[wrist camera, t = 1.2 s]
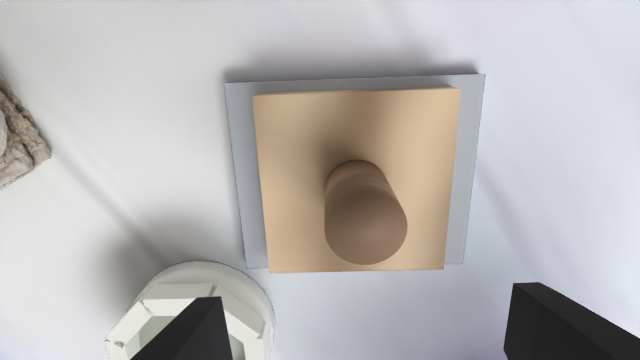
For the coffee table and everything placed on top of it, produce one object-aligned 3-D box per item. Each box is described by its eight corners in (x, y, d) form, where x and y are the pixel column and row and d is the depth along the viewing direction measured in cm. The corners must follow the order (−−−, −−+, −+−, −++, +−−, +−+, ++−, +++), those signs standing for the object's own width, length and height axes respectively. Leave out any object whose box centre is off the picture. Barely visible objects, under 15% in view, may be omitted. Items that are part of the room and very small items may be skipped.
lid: (451, 86, 16) (510, 97, 11) (436, 256, 18) (476, 326, 14) (257, 93, 16) (226, 107, 11) (272, 260, 19) (254, 330, 14)
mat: (479, 73, 16) (485, 74, 15) (458, 257, 19) (462, 263, 19) (227, 82, 16) (223, 83, 16) (249, 262, 19) (246, 268, 19)
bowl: (269, 259, 19) (259, 295, 16) (280, 370, 22) (273, 418, 19) (125, 262, 20) (88, 299, 16) (153, 372, 22) (126, 420, 19)
